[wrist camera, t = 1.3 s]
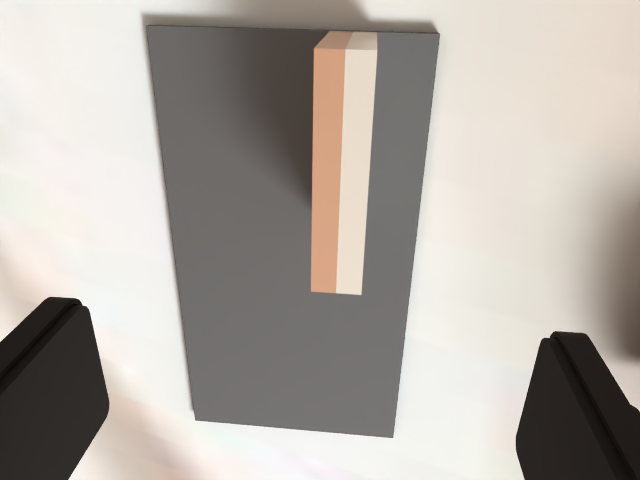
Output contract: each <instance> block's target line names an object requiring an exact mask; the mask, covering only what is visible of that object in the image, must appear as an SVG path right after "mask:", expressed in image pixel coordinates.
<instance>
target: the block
mask: <svg viewBox="0 0 640 480" xmlns="http://www.w3.org/2000/svg"><path fill="white" fill-rule="evenodd" d="M376 64H377V32H346V31H329V32H328V34H327V35H326V36H325V37H324V38H323V39H322V40H321V41H320V42H319V43H318V44H317V46H316V47H315V48H314V83H313V163H312V242H311V292H325V293H339V294H354V295H361V293H362V278H363V263H364V247H365V232H366V217H367V202H368V186H369V171H370V156H371V141H372V125H373V110H374V95H375V80H376Z"/></svg>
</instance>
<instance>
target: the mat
mask: <svg viewBox="0 0 640 480" xmlns="http://www.w3.org/2000/svg"><path fill="white" fill-rule="evenodd" d="M146 29H147V37H148V45H149V53H150V61H151V69H152V77H153V85H154V93H155V101H156V109H157V117H158V125H159V133H160V141H161V149H162V157H163V165H164V173H165V181H166V189H167V198H168V206H169V214H170V222H171V230H172V238H173V246H174V254H175V262H176V270H177V278H178V286H179V294H180V302H181V310H182V318H183V326H184V334H185V342H186V350H187V358H188V366H189V374H190V382H191V390H192V398H193V406H194V414H195V420H197V421H208V422H219V423H231V424H242V425H253V426H264V427H275V428H287V429H298V430H309V431H320V432H331V433H343V434H354V435H365V436H376V437H387V438H393V434H394V426H395V417H396V408H397V400H398V391H399V382H400V374H401V365H402V357H403V348H404V339H405V331H406V322H407V313H408V305H409V296H410V288H411V279H412V270H413V262H414V253H415V245H416V236H417V227H418V219H419V210H420V201H421V193H422V184H423V176H424V167H425V158H426V150H427V141H428V133H429V124H430V115H431V107H432V98H433V89H434V81H435V72H436V64H437V55H438V46H439V38H440V34H439V33H413V32H378V31H346V32H377V64H376V80H375V95H374V110H373V125H372V141H371V156H370V171H369V186H368V202H367V217H366V232H365V247H364V263H363V278H362V293H361V295H354V294H339V293H325V292H311V242H312V163H313V83H314V48H315V47H316V46H317V44H318V43H319V42H320V41H321V40H322V39H323V38H324V37H325V36H326V35H327V34H328V32H329V31H343V30H308V29H273V28H238V27H202V26H167V25H148V26H146Z"/></svg>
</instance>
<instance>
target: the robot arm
mask: <svg viewBox="0 0 640 480" xmlns="http://www.w3.org/2000/svg"><path fill="white" fill-rule="evenodd" d="M108 411H109V398H108V393H107V389H106V384H105V380H104V375H103V371H102V366H101V362H100V357H99V352H98V348H97V343H96V339H95V334H94V330H93V325H92V321H91V316H90V312H89V309H88V308H87V307H86V306H82V303H81V302H80V300H78V299H76V298H61V297H48V298H47V299H45V300H44V301H43V302H42V303H41V304H40V305H39V306H38V307H37V308H36V309H35V310H34V311H32V312H31V313H30V314H29V315H28V316H27V317H26V318H25V319H24V320H23V321H22V322H21V323H20V324H19V325H18V326H17V327H16V328H15V329H14V330H13V331H12V332H10V333H9V334H8V335H7V336H6V337H5V338H4V339H3V340H2V341H1V342H0V480H68V479H69V478H70V476H71V474H72V473H73V471H74V469H75V468H76V466H77V465H78V463H79V461H80V460H81V458H82V457H83V455H84V453H85V452H86V450H87V448H88V447H89V445H90V444H91V442H92V440H93V439H94V437H95V435H96V434H97V432H98V431H99V429H100V427H101V426H102V424H103V423H104V421H105V419H106V417H107V414H108ZM516 452H517V456H518V459H519V462H520V466H521V469H522V472H523V475H524V479H525V480H640V412H639V410H638V409H637V408H635V407H634V406H632V405H630V403H629V402H628V400H627V398H626V397H625V395H624V393H623V392H622V390H621V389H620V387H619V385H618V384H617V382H616V380H615V379H614V377H613V376H612V374H611V372H610V371H609V369H608V367H607V366H606V364H605V363H604V361H603V359H602V358H601V356H600V354H599V353H598V351H597V350H596V348H595V346H594V345H593V343H592V341H591V340H590V338H589V337H588V336H587V334H584V333H573V332H559V331H555V332H553V333H552V334H551V336H550V338H543V339H542V340H541V343H540V346H539V350H538V354H537V358H536V361H535V365H534V369H533V373H532V377H531V381H530V385H529V388H528V392H527V396H526V400H525V404H524V408H523V411H522V415H521V419H520V423H519V427H518V431H517V435H516Z"/></svg>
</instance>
